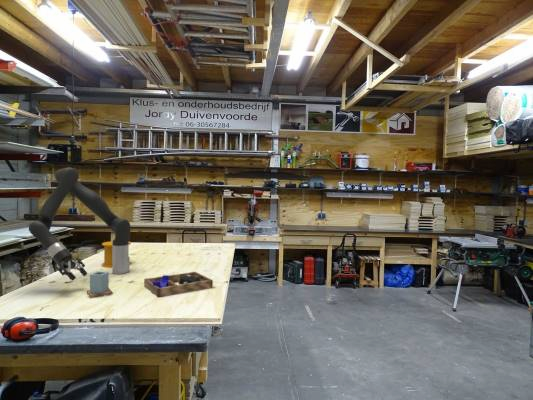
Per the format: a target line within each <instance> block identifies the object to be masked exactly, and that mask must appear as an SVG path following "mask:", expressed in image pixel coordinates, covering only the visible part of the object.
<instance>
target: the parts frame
mask: <svg viewBox="0 0 533 400" xmlns="http://www.w3.org/2000/svg"><path fill="white" fill-rule="evenodd" d="M187 275H193V276H194V277H195V278H196V277H197V276H203V277H204V278H203V279H200V282H189V283H188V282H186V283H185V284H181V285H179V284H176V283H179V281H180V277H182V276H187ZM162 278H163V275H162V276H156V277H149V278H144V280H143V282H144V284H143V285H144V288H146V289H147V290H148V291H150V292H151V293H152V294H153V295H155V296H156V297H157V298H160V297H161V298H162V297H167V296H172V295H177V294H184V293H190V292H195V291H200V289H201V290H206V289H212V288H213V282H214V281H213V279H211V278H209V277H207V276H205V275H203V274H201V273H199V272H198V271H191V272H183V273H177V274H171V275H170V274H169V280H168V287H162V288H159V287H158V286H153V282H154V281H162ZM194 290H195V291H194ZM189 291H190V292H189Z"/></svg>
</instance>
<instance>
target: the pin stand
mask: <svg viewBox="0 0 533 400" xmlns="http://www.w3.org/2000/svg"><path fill="white" fill-rule="evenodd" d="M86 292H87V293H86ZM86 292H85V293H86V294H87V296H88V295H89V296H88V298H90V299H92V298H91V297H95V298H99V297H98V296H101V297H105V296H104V295H107V296H111V294H114V293H113V291H112V290H111V289H110V288H109V290H107V291H105V292H103V293H101V294H100V293H90V289H86Z"/></svg>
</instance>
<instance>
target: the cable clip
mask: <svg viewBox="0 0 533 400" xmlns="http://www.w3.org/2000/svg"><path fill="white" fill-rule="evenodd" d="M169 275H170V274H169ZM169 275H166V274H164V275H162V276H163V278H162V281H154V282H153V286H158V287H159V288H162V287H168V280H169Z"/></svg>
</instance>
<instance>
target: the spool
mask: <svg viewBox="0 0 533 400" xmlns="http://www.w3.org/2000/svg"><path fill="white" fill-rule="evenodd" d="M112 242H113V240H112V241H104V242H102V243H101V246H103V247H104V250H103V251H104V253H103V257H104V262H103V263H102V264H101V267H103V268H109V269H112ZM131 244H132V242H131V241H129V246H130V245H131ZM131 264H132V263H131V261H130V265H131Z"/></svg>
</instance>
